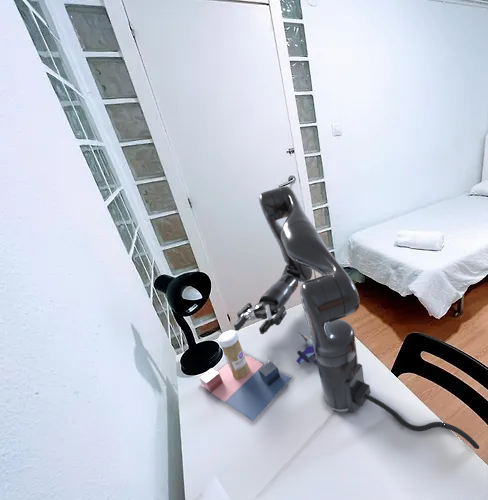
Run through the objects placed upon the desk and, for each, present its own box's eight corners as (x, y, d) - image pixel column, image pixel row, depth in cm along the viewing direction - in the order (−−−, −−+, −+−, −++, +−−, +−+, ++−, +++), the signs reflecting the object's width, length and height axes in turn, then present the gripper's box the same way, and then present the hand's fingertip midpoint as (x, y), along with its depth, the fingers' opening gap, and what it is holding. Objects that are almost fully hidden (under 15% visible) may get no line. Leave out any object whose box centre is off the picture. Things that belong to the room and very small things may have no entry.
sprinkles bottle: (246, 378, 75) (232, 341, 69) (230, 380, 75) (214, 342, 69) (252, 365, 79) (239, 328, 73) (236, 366, 79) (222, 329, 74)
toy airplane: (297, 336, 88) (295, 328, 87) (340, 336, 86) (339, 327, 85) (285, 371, 77) (282, 361, 75) (335, 371, 75) (333, 361, 73)
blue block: (280, 376, 74) (277, 367, 73) (268, 386, 72) (265, 376, 70) (272, 370, 77) (269, 360, 75) (261, 379, 74) (258, 369, 73)
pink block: (223, 382, 75) (219, 373, 73) (211, 392, 72) (206, 383, 71) (216, 377, 77) (211, 367, 75) (203, 386, 74) (199, 377, 72)
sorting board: (291, 379, 74) (291, 378, 74) (253, 422, 64) (252, 421, 64) (240, 353, 85) (240, 352, 84) (201, 387, 75) (200, 385, 75)
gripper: (255, 286, 94) (223, 317, 80) (293, 289, 89) (266, 322, 75) (261, 304, 97) (231, 337, 83) (297, 307, 93) (272, 343, 79)
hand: (248, 330), depth 79 cm, fingers open, 8 cm apart
